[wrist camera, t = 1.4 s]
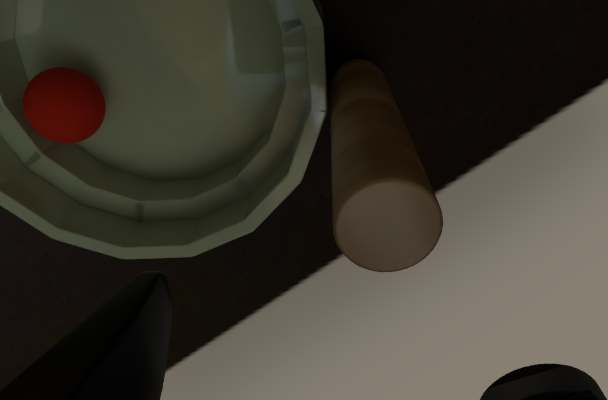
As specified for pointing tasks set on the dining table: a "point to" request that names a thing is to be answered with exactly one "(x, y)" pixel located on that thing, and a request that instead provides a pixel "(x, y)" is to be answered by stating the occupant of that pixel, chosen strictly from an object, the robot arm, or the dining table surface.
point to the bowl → (163, 118)
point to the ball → (64, 105)
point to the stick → (377, 175)
